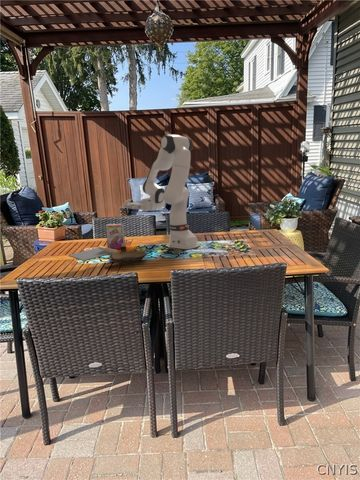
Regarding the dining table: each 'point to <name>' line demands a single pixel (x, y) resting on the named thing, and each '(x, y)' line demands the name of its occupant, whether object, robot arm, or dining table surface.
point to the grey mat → (93, 253)
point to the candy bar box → (115, 235)
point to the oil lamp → (126, 255)
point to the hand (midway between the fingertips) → (129, 207)
